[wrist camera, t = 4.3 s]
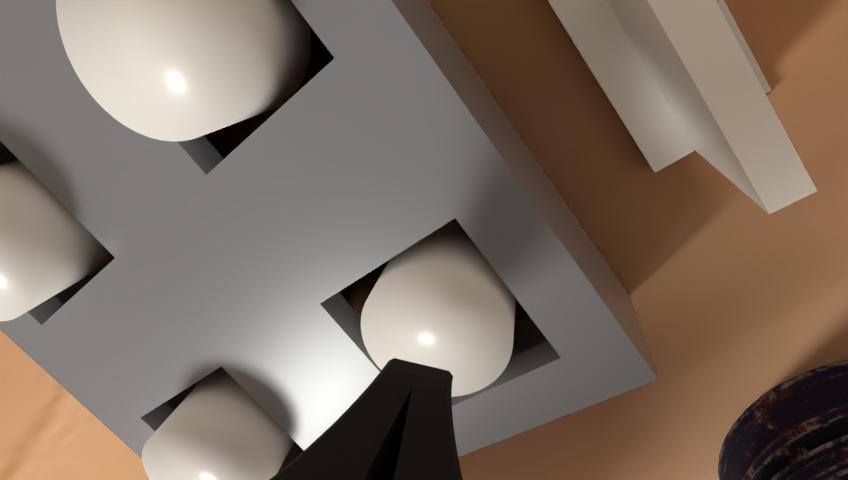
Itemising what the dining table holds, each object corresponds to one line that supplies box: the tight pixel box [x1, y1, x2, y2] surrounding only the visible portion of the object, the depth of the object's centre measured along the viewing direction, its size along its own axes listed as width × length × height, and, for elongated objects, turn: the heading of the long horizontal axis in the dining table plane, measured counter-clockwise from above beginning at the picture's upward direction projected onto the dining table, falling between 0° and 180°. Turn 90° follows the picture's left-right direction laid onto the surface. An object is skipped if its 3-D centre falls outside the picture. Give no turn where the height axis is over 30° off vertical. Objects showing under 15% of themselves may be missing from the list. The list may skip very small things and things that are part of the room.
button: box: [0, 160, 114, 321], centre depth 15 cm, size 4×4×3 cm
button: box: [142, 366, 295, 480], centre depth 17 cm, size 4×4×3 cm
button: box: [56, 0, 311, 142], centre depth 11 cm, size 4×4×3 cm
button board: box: [0, 0, 658, 472], centre depth 15 cm, size 17×17×4 cm
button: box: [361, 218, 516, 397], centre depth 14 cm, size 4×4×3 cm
